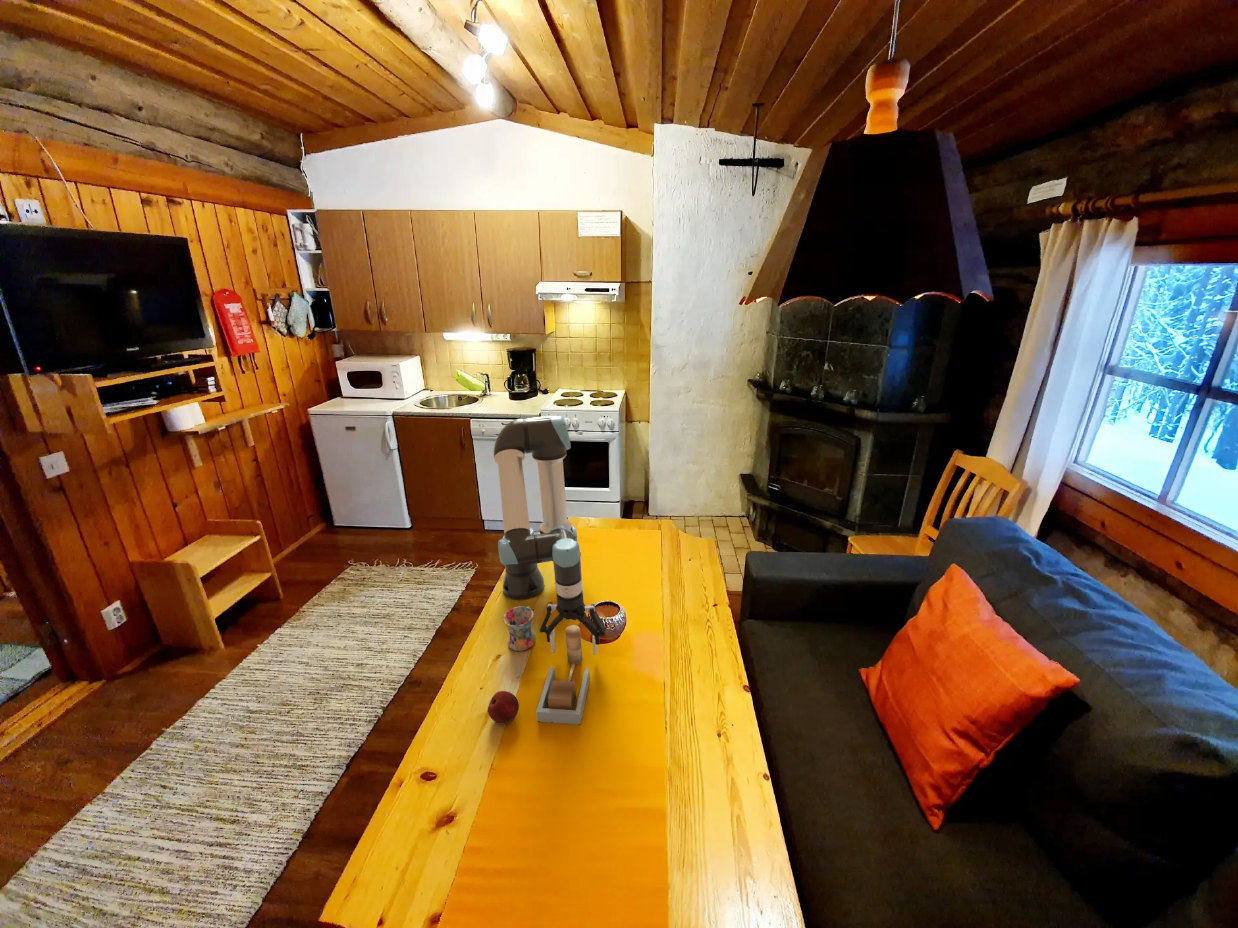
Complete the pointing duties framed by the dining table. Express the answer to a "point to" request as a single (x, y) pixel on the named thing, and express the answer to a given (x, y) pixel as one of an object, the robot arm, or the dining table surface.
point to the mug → (519, 627)
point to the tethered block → (564, 691)
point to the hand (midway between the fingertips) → (574, 650)
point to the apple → (503, 707)
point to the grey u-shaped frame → (560, 714)
